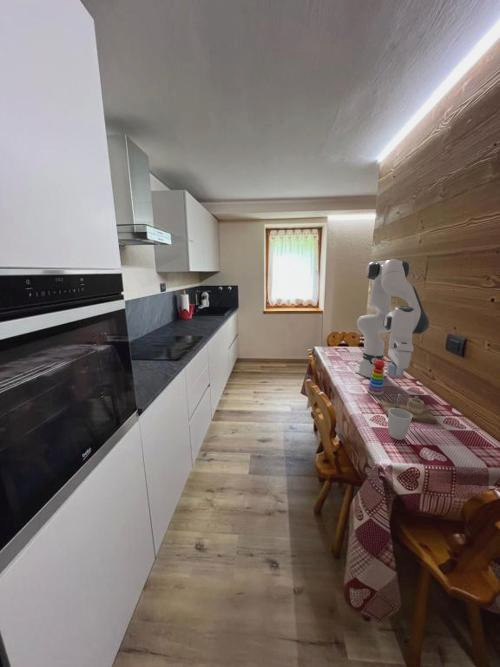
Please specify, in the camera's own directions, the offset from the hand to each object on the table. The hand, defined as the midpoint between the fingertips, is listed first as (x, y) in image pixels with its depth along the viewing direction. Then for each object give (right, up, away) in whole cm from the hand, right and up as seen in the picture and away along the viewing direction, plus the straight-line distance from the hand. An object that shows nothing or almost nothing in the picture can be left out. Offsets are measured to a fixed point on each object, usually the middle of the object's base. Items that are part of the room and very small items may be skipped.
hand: (395, 371), depth 122 cm
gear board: (+6, -20, +2) cm, 21 cm away
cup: (-9, -24, -16) cm, 30 cm away
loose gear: (0, -2, 0) cm, 2 cm away
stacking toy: (+1, -15, +22) cm, 27 cm away
